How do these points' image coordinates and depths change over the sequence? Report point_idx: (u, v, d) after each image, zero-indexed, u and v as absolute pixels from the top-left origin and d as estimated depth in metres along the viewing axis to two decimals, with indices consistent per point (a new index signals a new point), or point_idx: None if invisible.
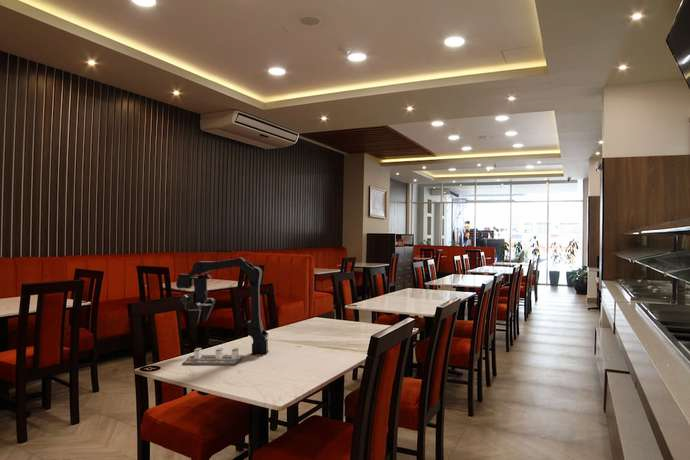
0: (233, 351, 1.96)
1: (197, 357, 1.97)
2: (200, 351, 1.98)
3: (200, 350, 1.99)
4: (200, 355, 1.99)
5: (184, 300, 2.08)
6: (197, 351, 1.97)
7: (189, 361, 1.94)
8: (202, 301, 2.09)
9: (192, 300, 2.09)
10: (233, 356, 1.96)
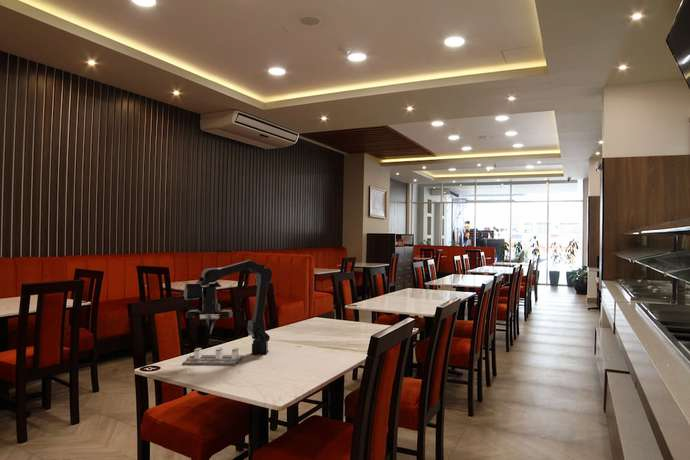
0: (233, 351, 1.96)
1: (197, 357, 1.97)
2: (200, 351, 1.98)
3: (200, 350, 1.99)
4: (200, 355, 1.99)
5: None
6: (197, 351, 1.97)
7: (189, 361, 1.94)
8: None
9: None
10: (233, 356, 1.96)
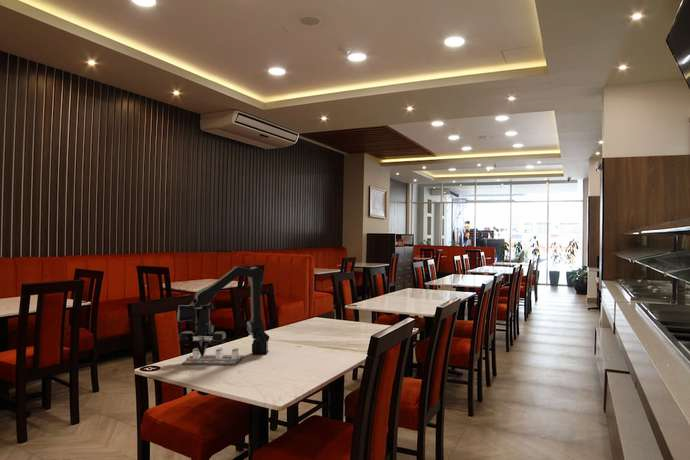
0: (233, 351, 1.96)
1: (195, 357, 1.97)
2: (198, 351, 1.98)
3: (198, 350, 1.99)
4: (198, 355, 1.99)
5: None
6: (195, 351, 1.97)
7: (189, 361, 1.94)
8: None
9: None
10: (233, 356, 1.96)
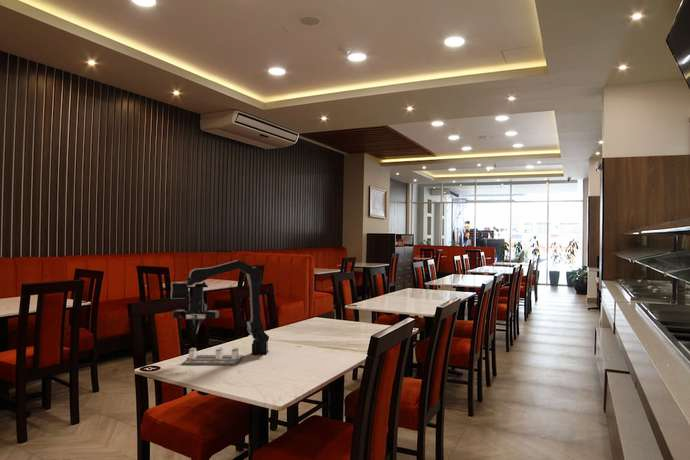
0: (233, 351, 1.96)
1: (192, 357, 1.97)
2: (194, 351, 1.98)
3: (195, 350, 1.99)
4: (195, 355, 1.99)
5: None
6: (192, 351, 1.97)
7: (189, 361, 1.94)
8: None
9: None
10: (233, 356, 1.96)
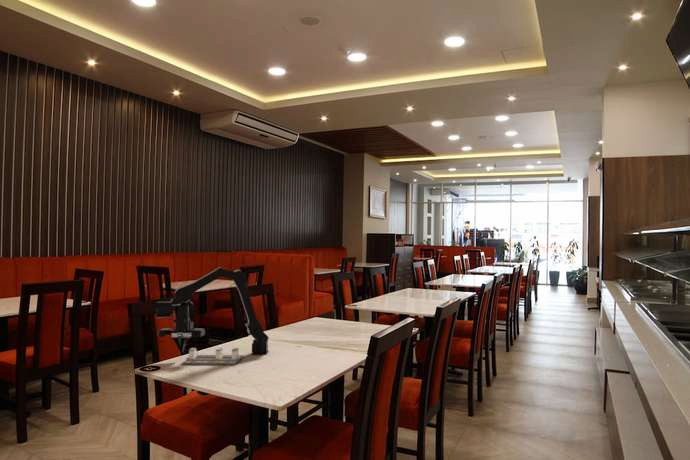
0: (233, 351, 1.96)
1: (192, 357, 1.97)
2: (194, 351, 1.98)
3: (195, 350, 1.99)
4: (195, 355, 1.99)
5: None
6: (192, 351, 1.97)
7: (189, 361, 1.94)
8: None
9: None
10: (233, 356, 1.96)
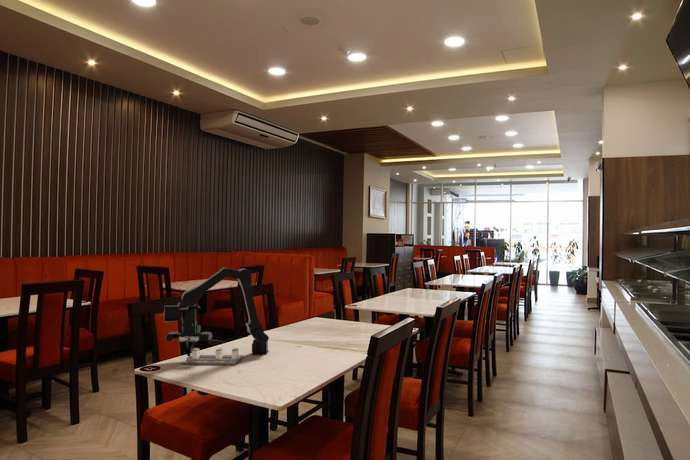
0: (233, 351, 1.96)
1: (195, 357, 1.97)
2: (197, 351, 1.98)
3: (198, 350, 1.99)
4: (198, 355, 1.99)
5: None
6: (195, 351, 1.97)
7: (189, 361, 1.94)
8: None
9: None
10: (233, 356, 1.96)
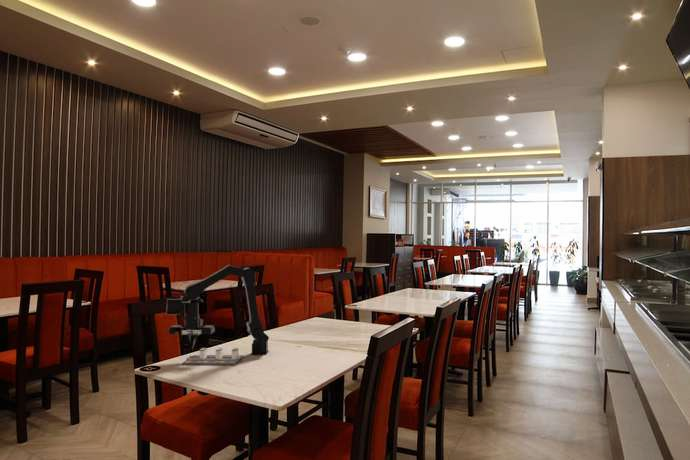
0: (233, 351, 1.96)
1: (202, 357, 1.97)
2: (205, 351, 1.98)
3: (205, 350, 1.99)
4: (205, 355, 1.99)
5: None
6: (202, 351, 1.97)
7: (189, 361, 1.94)
8: None
9: None
10: (233, 356, 1.96)
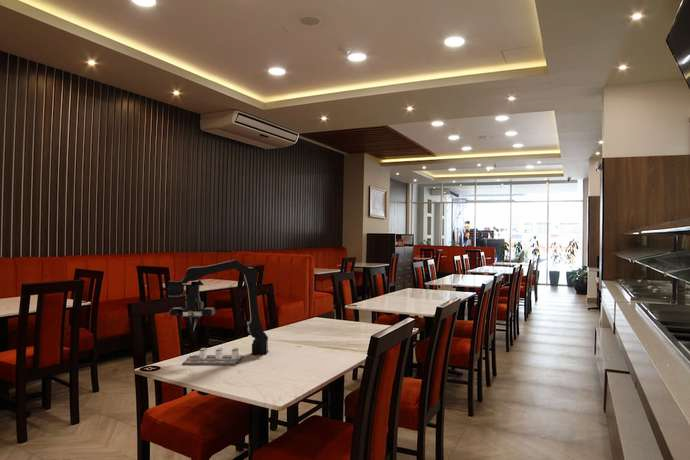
0: (233, 351, 1.96)
1: (202, 357, 1.97)
2: (205, 351, 1.98)
3: (205, 350, 1.99)
4: (205, 355, 1.99)
5: None
6: (202, 351, 1.97)
7: (189, 361, 1.94)
8: None
9: None
10: (233, 356, 1.96)
